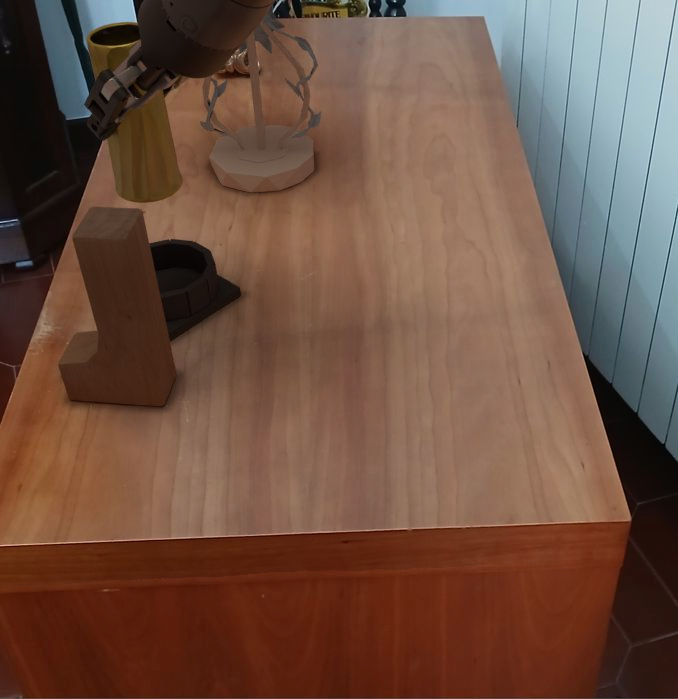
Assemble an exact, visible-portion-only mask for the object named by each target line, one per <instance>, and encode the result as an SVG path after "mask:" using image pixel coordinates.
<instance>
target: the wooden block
mask: <svg viewBox="0 0 678 699" xmlns="http://www.w3.org/2000/svg"><path fill="white" fill-rule="evenodd" d="M71 238H72V243H73V247H74V250H75V254H76V257H77V258H76V259H77V261H78V262H77V263H78V264H79V265H78V266H79V268H80V273H81V276H82V280H83V284H84V287H85V291H86V294H87V298H88V302H89V305H90V309H91V312H92V315H93V320H94V323H95V326H96V330H89V331H88V330H87V331H77V332H75V333H74V334H73V335H72V337H71V339H70V341H69V343H68V345H67V346H66V348H65V350H64V351H63V353H62V355H61V357H60V359H59V360H58V364H57V366H58V370H59V373H60V375H61V379H62V382H63V385H64V388H65V391H66V394H67V398H68V399H70V400H71V401H81V402H94V403H95V402H96V403H110V404H124V405H137V406H150V407H163V406H165V404H166V402H167V398H168V397H169V395H170V391H171V389H172V387H173V384H174V382H175V379H176V376H177V369H176V364H175V359H174V354H173V350H172V345H171V341H170V339H169V335H168V330H167V325H166V320H165V316H164V311H163V306H162V302H161V297H160V292H159V287H158V283H157V278H156V273H155V268H154V263H153V259H152V254H151V249H150V244H149V243H150V240H149V234H148V230H147V226H146V221H145V216H144V212H143V210H142V209H141V208H133V207H114V206H113V207H111V206H92V207H91V206H90V207H89V208H88V210H87V211H86V213H85V215H84V216H83V217H82V219H81V221H80V223H79V224H78V226H77V227H76V229H75V230H74V232H73V234H72V237H71Z"/></svg>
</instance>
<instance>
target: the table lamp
mask: <svg viewBox="0 0 678 699" xmlns="http://www.w3.org/2000/svg"><path fill="white" fill-rule="evenodd" d="M287 2H288V8H289V9H290V8H291V3H292V0H287ZM284 28H286V25H285V24H283V22H281V21H279V20H277V16H276V14H275V13H274V11H273V10H272V8H271V7H270V9H269V11H268V13H267V14H266V16H265V17H264V19H263V20H262V21H261V23H260V24H259V25H258V27H257V28H256V29H255V30H254V31H253V32H252V33H251V35H250V36H249V37H248V38H247V39H246V40H245V42H244V43H243V44H242V45H241V46H240V47H239V51H240V54H241V53H242V52H243V51H245V50H246V49H247V52H248V61H249V70H250V74H249V78H250V87H251V98H252V105H253V115H254V124H255V125H252V126H251V125H250V126H245V127H243V128H241V129H238V130H235V131H233V130H232V129H230V128H229V127H227V125H225V124H223V122H221V121H220V120H219V119H218V117H217V114H216V111H215V106H216V103H217V100H218V98H220V97H222V96H223V94H224V93H225V91H226V89H227V84H228V79H226V80H225V81H224V82H222V83H220V84H218V80H216V79H215V78H212V76H209V77H206V78H204V79H203V82H202V86H201V87H202V97H203V105H204V108H205V110H206V112H207V115H206V119H205V121H203V120H198V121H199V124H200V126H201V128H202V129H204V130H205V131H209V132H214V133H217V134H219V135H223V136H221V137H219V138H217V140H216V142H215V144H214V146H213V148H212V151H211V153H210V154H209V161H210V165H211V168H212V170H213V172H214V173H215V176H216V178H217V179H218V181H219V184H220V185H221V186H223V187H226V188H231V189H235V190H239V191H243V192H245V193H246V192H247V193H250V194H251V193H264V192H265V193H266V192H279V191H283V190H285V189H287V188H290V187H293V186H295V185H298V184H300V183H303V181H304V180H306V179H307V178H308V177H309V176H310V175H311V174H313V172H315V156H314V153H315V152H314V143H313V142H314V141H313V140H314V139H313V138H312V137H311V136H309V135H308V134H307V133H308V132H309V131H310V130H311V129H314V128H316V127H318V126H319V125H320V122H321V118H322V111H319V112H318V113H316V114H315V112H314V111H313V109H312V108H311V107H310V102H311V90H310V86H309V83H308V82H309V81H311V78H312V77H313V75H314V73H315V72H316V70H317V69H318V67H319V64H318V61H317V57H316V54H315V53H314V50H313V48H312V46H311V45H310V43H309V41H308V40H307V39H305V38H304V37H301V36H296V35H294V36H292V35H290V34H289V33H286V32H284V31H283V30H280V29H284ZM274 31H275V32H277V33H279V34H281V35H282V36H285V37H287V38H289V39H290V40H293V41H295V42H297V44H298V46H299V47H300V48H301V50H302V51H305V52H307V53H308V55H309V56H310V58H311V59H312V62H313V67H312V68H311V71H310V73H309V74H308V75H307V76H306V72H305V68H304V67H303V66H302V65H301V64H300V62H299V61H298V60H297V59H296V58H295V57H294V55H293V54H292V53H291V52H290V50H289V49H287V47H286V46H285V45H284V43H283V42H282V41H281V40H280V39H279V38H278V36H276V35H275V33H274ZM256 42H258V43H260V44H261V46H262V47H263V48H264V49H265V50H266V51H267V52H269V53H270V54H271V55H273V46H272V44H274V45H275V46H276V47H277V48H278V49H279V51H280V52H281V53H282V54H283V56H284V57H285V58H286V59H287V60H288V62H289V63H290V64H291V65H292V66H293V68H294V69H295V71H296V74H297V76H298V79H299V81H297V83H296V85H295V84H294V83H292V82H291V81H290V80H288V78H286V77H284V80H285V82H286V84H287V85H288V86H289V87H290V88H291V89H292V91H293V92H294V93H295V94H296V95H297V97H299V98H300V99H301V100H302V106H301V110H300V111H301V112H300V116H299V119H298V120H297V121H295V123H294V124H293V125H292V126H290V127H289V126H286V125H282V124H269V125H265V119H264V111H263V110H264V109H263V102H262V100H263V99H262V92H261V84H260V83H261V82H260V71H259V72H258V63H257V57H258V53H257V46H256ZM272 42H273V43H272ZM211 82H212V84H213V86H214V88H213V94H212V97H211V100H210V98H209V97H210V96H209V94H210V88H211ZM300 85H301V87H302V90H303V92H302V91H301V87H300ZM309 113H310V119H309V120H308V122H307V127H306V128H304V129H303V130H300V129H299V128H300V127H301V125H303V123H305V122H306V120H307V119H308V118H309ZM211 121H212V122H211ZM212 123H213V124H214V125H215V126H216V127H217V128H219V129H217V128H215V127H214V125H213V124H212Z"/></svg>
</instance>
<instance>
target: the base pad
mask: <svg viewBox="0 0 678 699" xmlns="http://www.w3.org/2000/svg"><path fill="white" fill-rule="evenodd" d="M149 244H150V249H151V254H152V259H153V263H154V268H155V273H156V278H157V283H158V287H159V292H160V297H161V302H162V306H163V311H164V316H165V320H166V325H167V330H168V335H169V339H170V342H171V341H172V340H174V339H175V338H177V337H179V336H181V334H184V333H185V332H186V331H188V330H189V329H191V328H192V327H194V326H196V325H197V324H199V323H200V322H202V321H203V320H205V319H206V318H208V317H209V316H211V315H213V314H214V313H216V312H217V311H218V310H220V309H222V308H223V307H225V306H227V305H228V304H230V303H231V302H233V301H234V300H236V299H238V298H239V297H240V296H242V292H241V287H240V286H238V285H236V284H235V283H233V282H231V281H230V280H228V279H226V278H224V277H223V276H221V275H219V274H218V271H217V265H216V262H215V261H216V260H215V257H214V256H213V252H212V251H211V250H210V249H209V248H208V247H205V246H204V245H202V244H200V243H198V242H197V241H193V240H187V239H177V238H170V239H169V238H168V239H167V238H166V239H162V240H157V241H153V242H149Z"/></svg>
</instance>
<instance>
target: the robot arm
mask: <svg viewBox="0 0 678 699" xmlns="http://www.w3.org/2000/svg"><path fill="white" fill-rule="evenodd" d="M275 2H276V0H143V1H142V2H141V4H140V7H139V9H138V13H137V23H138V28H139V33H140V40H139V41H138V42H137V43H136V44H135V45H134V46H133V47H132V48H131V49H130V52H129V56H128V57H127V58H126V59H125V60H124V61H123V62H122V64H121V65H120V66H119V67H118V68H117V69H116V70H115V71H114V72H112V71H111V70H110V69H109V68H108V69H106V70H103V71H101V72H100V73H99V74H100V75H99V76H98V77H97V79H96V81H95V80H94V83H93V85H92V87H91V89H90V91H89V93H88V95H87V97H86V100H85V101H84V103H83V105H84V107H85V108H86V110H88V111H89V112H90V113H91V114H90V115H89V116H88V118H87V120H86V125H87V127H88V128H89V130H90V131H91V132H92V133H93V134H94V135H95V137H96V138H97V139H99V140H100V141H102V142H104V141H106V140H107V139H108V138H109V137H110V136H111V135H112V134H113V133H114V131H115V130H116V129H117V127H118V126H119V125H120V124H121V122H123V121H124V120H125V119H126V117H127V116H128V115H129V114H130V113H131V112H132V111H133V110H134V109H136V110H137V109H140V108H143V107H145V106H147V105H148V104H149V103H150V102H151V101H152V100H153V99H154V98H155V97H156V96H157V95H158V94H159V93H160V92H161V91H162V90H163V93H164V98H165V99H166V97H167V96H168V95H169V93H171V91H173V90H177V89H178V88H179V87H180V86H181V85H183V83H185V82H187V81H188V80H189V79H205V78H206V77H209V76H211V77H212V76H213V75H216V74H218V73H217V72H218V71H219V70H220V69H221V68H222V67H223V66H224V65H225V63H226V62H227V61H228V60H229V59H230V58H231V56H232V55H233V54H234V53H235V52H236V51H237V50H238V48H239V47H240V46H241V45H242V44H243V43H244V42H245V40H246V39H247V38H248V37H249V36H250V35H251V33H252V32H253V31H254V30H255V29H256V28H257V27H258V25H259V24H260V23H261V21H262V20H263V19H264V17H265V16H266V14H267V13H268V11H269V9H270V8H271V7H272V6H273V5H274V3H275ZM134 82H135V83H136V84H137V86H138V87H139V88H140V89H141V90H143V91H147V92H146V93H145V94H144V95H142V94H141V93H140V92H139V91H138V90H137V88H136V87H135V86H134V85H133V84H132V83H134ZM126 102H127V104H126V105H125V103H126ZM124 105H125V106H124Z"/></svg>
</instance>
